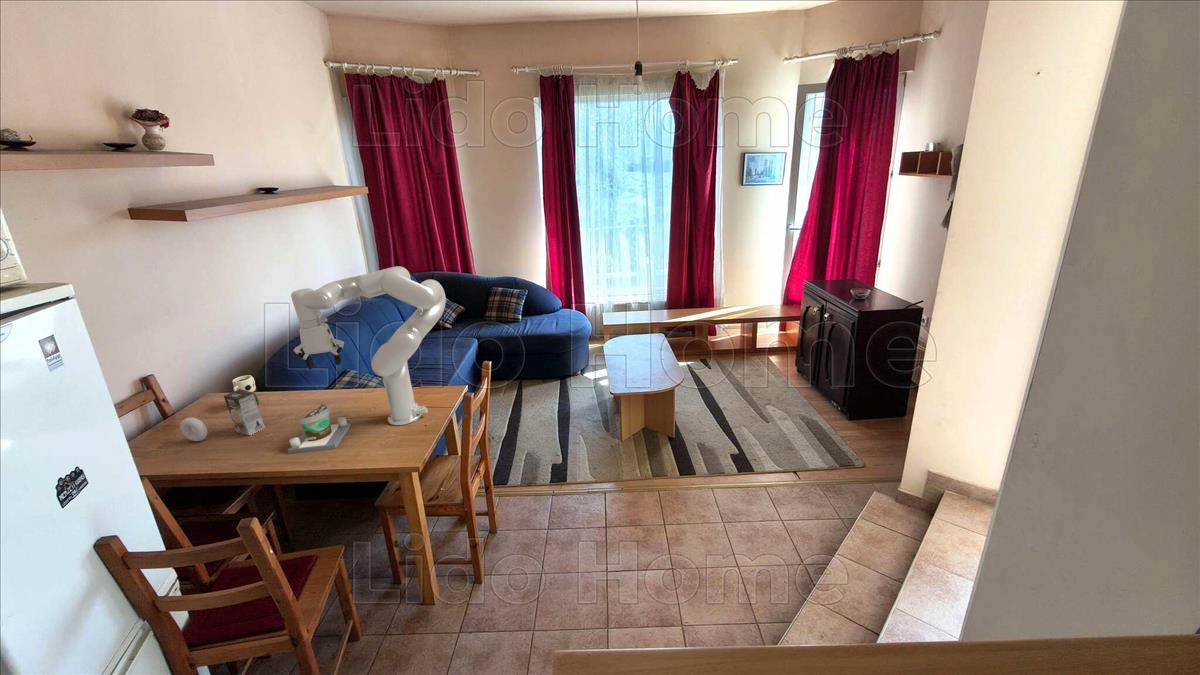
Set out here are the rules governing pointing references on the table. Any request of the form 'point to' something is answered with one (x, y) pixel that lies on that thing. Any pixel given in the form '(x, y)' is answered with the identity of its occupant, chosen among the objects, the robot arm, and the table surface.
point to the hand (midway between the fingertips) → (325, 366)
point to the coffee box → (244, 411)
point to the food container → (317, 423)
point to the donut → (197, 425)
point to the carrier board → (326, 443)
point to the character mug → (245, 384)
